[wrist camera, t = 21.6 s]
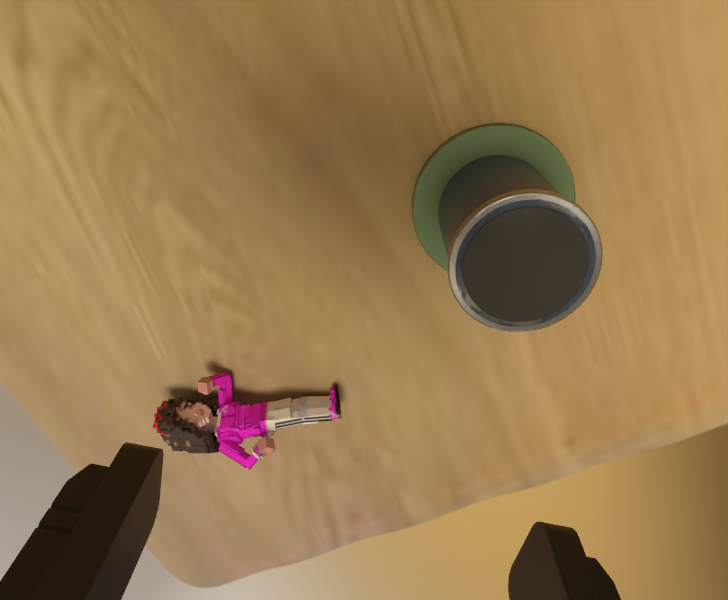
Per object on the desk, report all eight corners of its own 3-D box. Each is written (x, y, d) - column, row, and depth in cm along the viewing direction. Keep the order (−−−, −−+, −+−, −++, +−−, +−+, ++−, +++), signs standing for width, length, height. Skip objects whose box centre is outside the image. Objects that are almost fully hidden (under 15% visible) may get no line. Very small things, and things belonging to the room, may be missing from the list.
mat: (389, 161, 31) (388, 163, 31) (549, 96, 29) (552, 97, 29) (442, 296, 35) (443, 301, 34) (588, 246, 33) (591, 250, 32)
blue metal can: (566, 347, 26) (630, 215, 23) (429, 314, 26) (477, 175, 23) (527, 275, 33) (572, 168, 30) (420, 249, 33) (455, 137, 30)
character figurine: (340, 392, 40) (174, 417, 40) (330, 342, 37) (148, 370, 37) (347, 460, 36) (161, 489, 36) (336, 411, 33) (131, 442, 33)
